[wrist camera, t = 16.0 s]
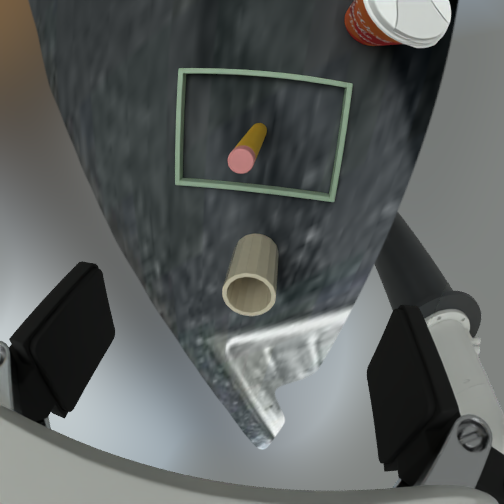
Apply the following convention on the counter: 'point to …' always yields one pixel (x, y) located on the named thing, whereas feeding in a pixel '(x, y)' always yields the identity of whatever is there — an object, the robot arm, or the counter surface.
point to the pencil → (247, 149)
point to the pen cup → (252, 276)
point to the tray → (254, 187)
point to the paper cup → (398, 22)
